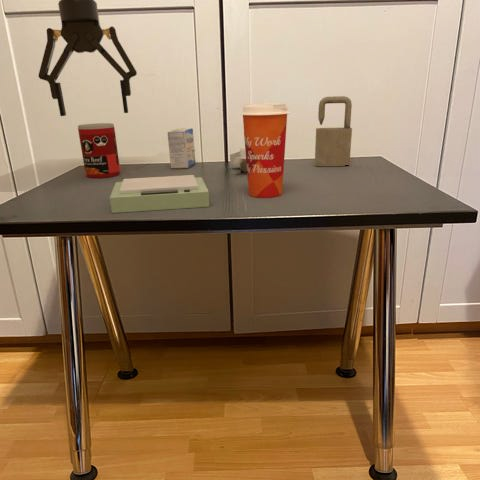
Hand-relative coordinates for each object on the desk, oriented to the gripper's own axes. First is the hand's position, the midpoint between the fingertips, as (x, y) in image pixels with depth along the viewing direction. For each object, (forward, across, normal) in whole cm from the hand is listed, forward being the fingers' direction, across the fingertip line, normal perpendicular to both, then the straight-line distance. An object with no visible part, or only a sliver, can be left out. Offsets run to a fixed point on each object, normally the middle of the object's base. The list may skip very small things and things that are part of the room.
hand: (95, 114), depth 106 cm
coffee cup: (+13, -32, +32) cm, 47 cm away
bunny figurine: (+14, -34, +5) cm, 37 cm away
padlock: (+14, -54, +4) cm, 56 cm away
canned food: (+13, 0, 0) cm, 13 cm away
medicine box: (+14, -19, -7) cm, 24 cm away
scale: (+13, -13, +32) cm, 37 cm away
